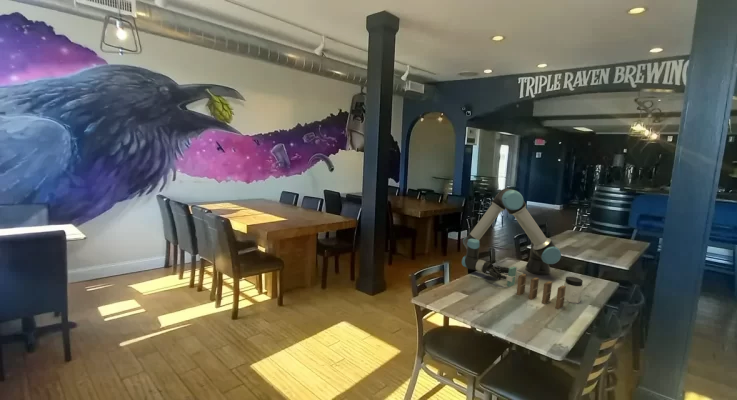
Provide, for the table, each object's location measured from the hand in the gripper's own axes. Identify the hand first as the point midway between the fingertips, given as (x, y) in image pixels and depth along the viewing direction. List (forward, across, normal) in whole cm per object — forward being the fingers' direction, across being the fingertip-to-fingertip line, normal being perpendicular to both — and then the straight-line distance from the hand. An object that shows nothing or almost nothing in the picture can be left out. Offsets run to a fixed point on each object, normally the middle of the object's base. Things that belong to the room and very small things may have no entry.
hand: (517, 277), depth 215 cm
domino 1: (+6, +8, -6) cm, 12 cm away
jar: (+27, -8, -6) cm, 29 cm away
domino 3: (+20, +8, -6) cm, 23 cm away
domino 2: (+13, +8, -6) cm, 17 cm away
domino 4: (+27, +8, -6) cm, 29 cm away
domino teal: (-4, 0, -6) cm, 7 cm away
